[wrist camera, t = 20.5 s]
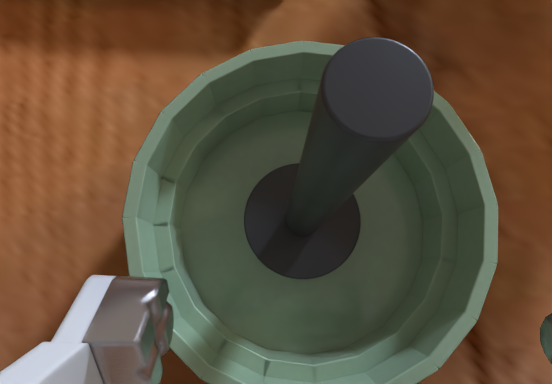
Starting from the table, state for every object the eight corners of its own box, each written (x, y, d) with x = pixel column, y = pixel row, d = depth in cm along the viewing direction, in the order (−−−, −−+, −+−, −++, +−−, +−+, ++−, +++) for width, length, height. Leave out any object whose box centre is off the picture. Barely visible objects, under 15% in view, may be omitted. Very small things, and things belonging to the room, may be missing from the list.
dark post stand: (363, 267, 21) (639, 247, 5) (256, 288, 21) (211, 334, 5) (339, 164, 22) (510, -108, 6) (237, 182, 22) (151, -53, 6)
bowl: (476, 344, 21) (548, 368, 15) (182, 406, 20) (149, 455, 15) (402, 74, 24) (441, 16, 18) (143, 120, 23) (103, 73, 18)
